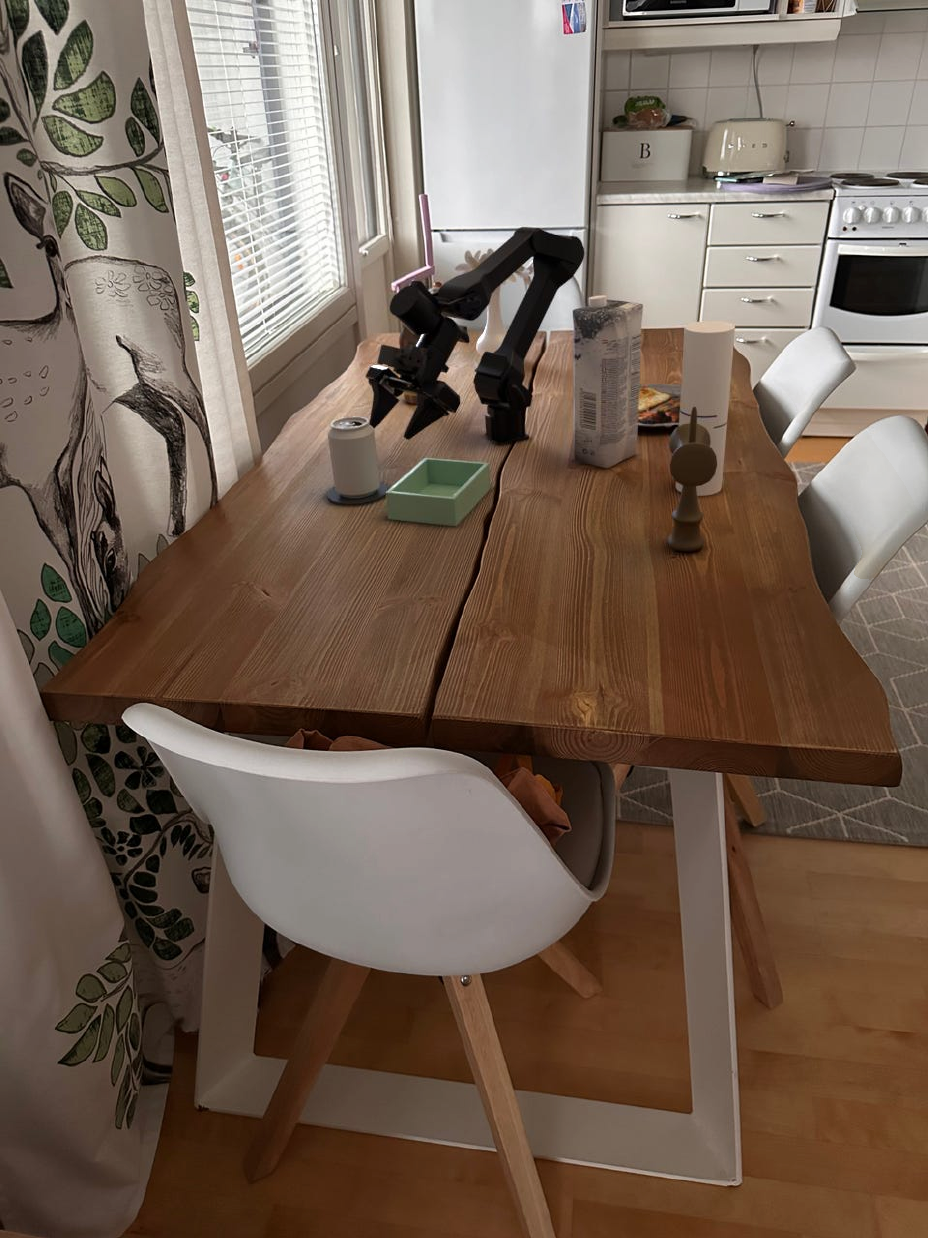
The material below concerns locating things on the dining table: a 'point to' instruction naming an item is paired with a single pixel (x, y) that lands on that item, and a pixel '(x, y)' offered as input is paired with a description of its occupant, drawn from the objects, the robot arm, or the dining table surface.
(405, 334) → the sauce bottle
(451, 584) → the dining table surface
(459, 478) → the green open box
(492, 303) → the flower vase
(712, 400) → the cylindrical container
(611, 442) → the juice carton
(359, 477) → the can
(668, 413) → the food plate
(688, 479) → the kendama
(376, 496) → the coaster
